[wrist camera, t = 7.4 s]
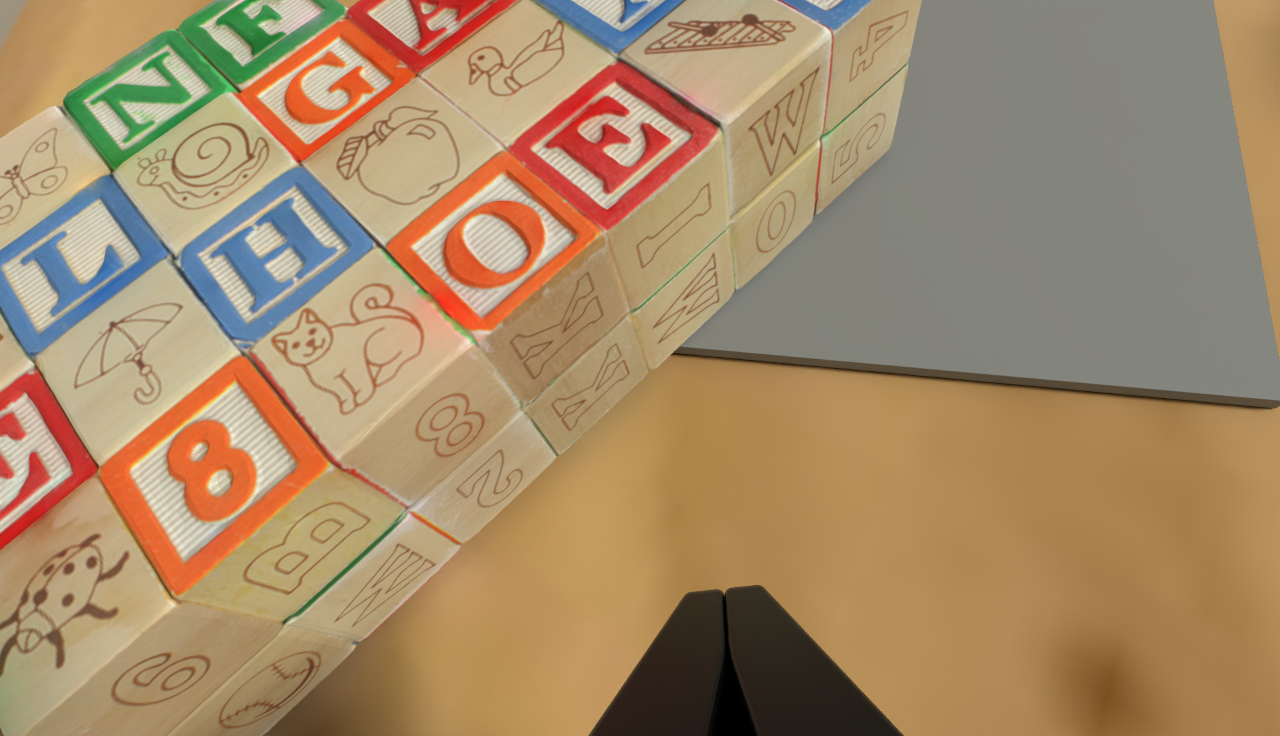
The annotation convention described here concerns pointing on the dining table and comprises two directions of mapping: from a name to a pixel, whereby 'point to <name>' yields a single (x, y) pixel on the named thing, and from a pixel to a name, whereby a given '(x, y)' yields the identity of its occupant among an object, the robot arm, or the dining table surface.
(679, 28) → the stack of blocks
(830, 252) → the mat
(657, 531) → the dining table surface
